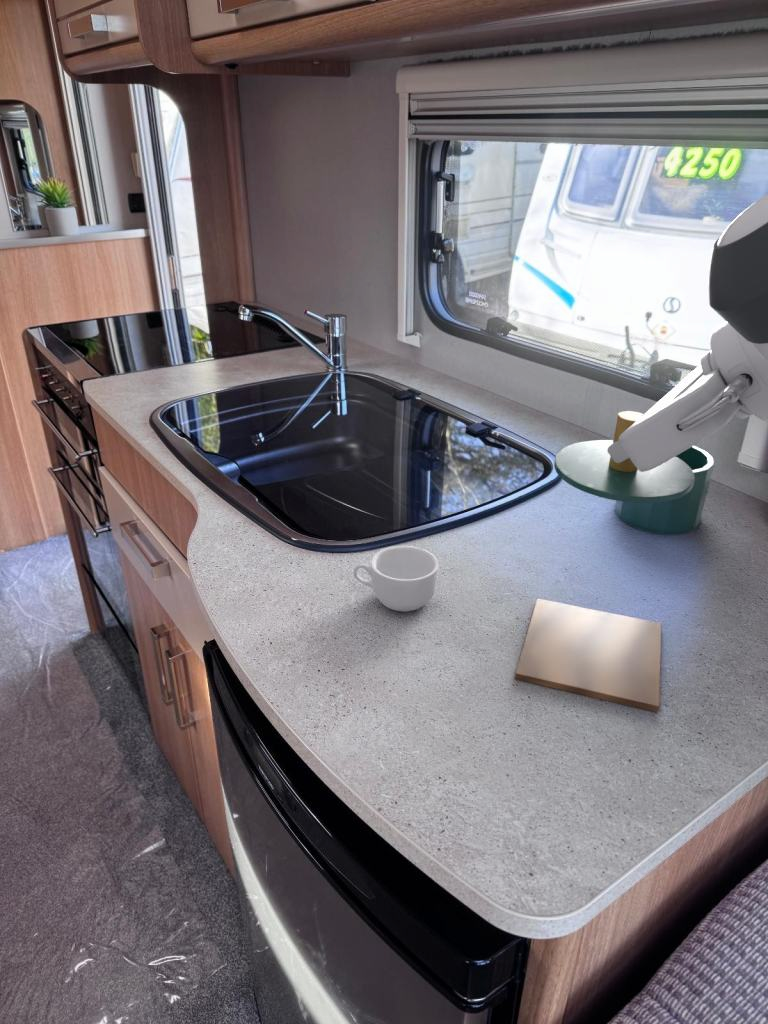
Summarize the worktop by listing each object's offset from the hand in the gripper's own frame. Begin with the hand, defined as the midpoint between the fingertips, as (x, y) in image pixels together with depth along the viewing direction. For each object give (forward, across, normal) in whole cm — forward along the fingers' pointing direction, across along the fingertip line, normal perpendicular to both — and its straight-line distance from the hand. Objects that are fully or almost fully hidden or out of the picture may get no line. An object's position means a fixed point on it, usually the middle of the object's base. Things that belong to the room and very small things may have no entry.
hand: (621, 447), depth 67 cm
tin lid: (+1, 0, -2) cm, 2 cm away
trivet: (+16, 0, -17) cm, 24 cm away
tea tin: (+19, +35, -14) cm, 42 cm away
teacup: (+32, -5, -2) cm, 33 cm away
